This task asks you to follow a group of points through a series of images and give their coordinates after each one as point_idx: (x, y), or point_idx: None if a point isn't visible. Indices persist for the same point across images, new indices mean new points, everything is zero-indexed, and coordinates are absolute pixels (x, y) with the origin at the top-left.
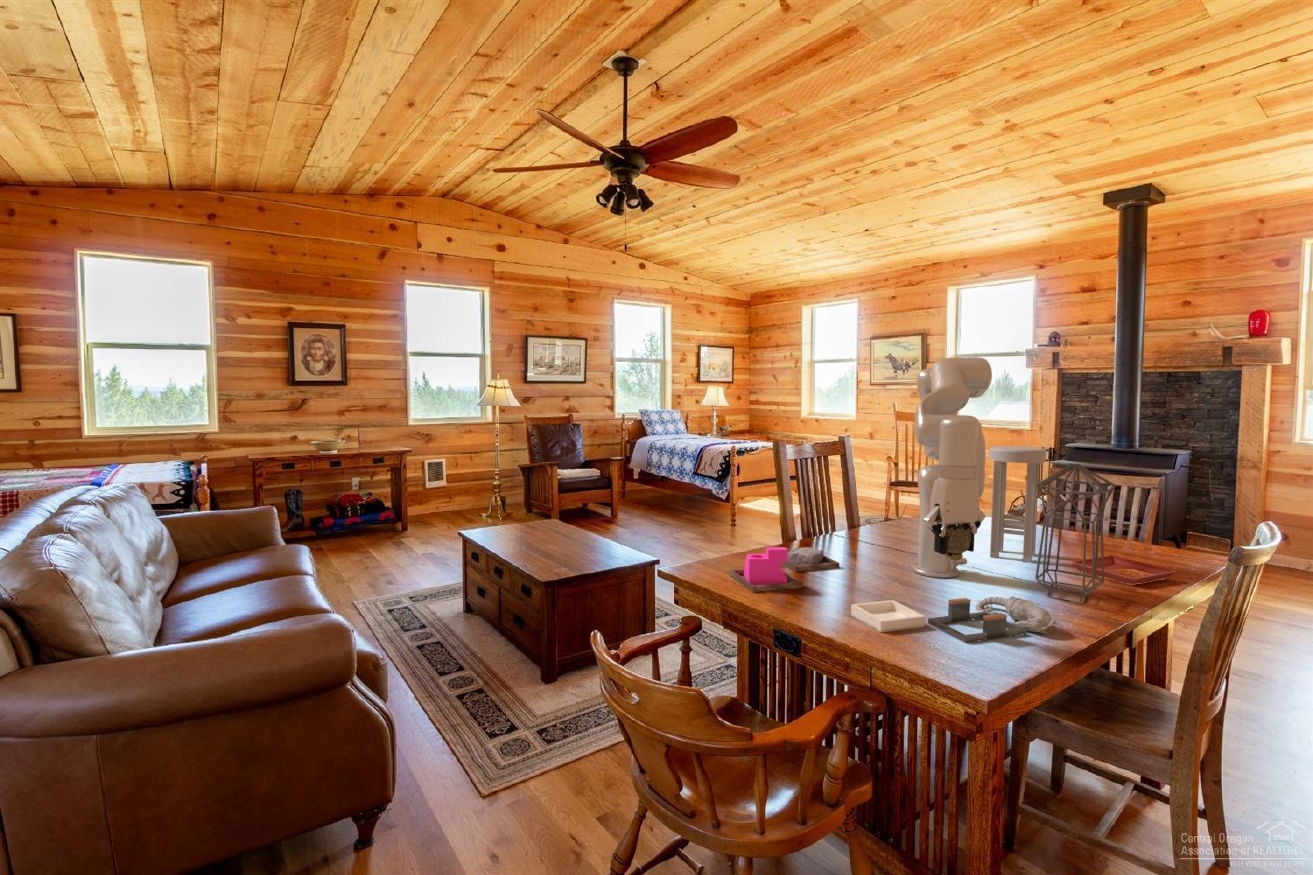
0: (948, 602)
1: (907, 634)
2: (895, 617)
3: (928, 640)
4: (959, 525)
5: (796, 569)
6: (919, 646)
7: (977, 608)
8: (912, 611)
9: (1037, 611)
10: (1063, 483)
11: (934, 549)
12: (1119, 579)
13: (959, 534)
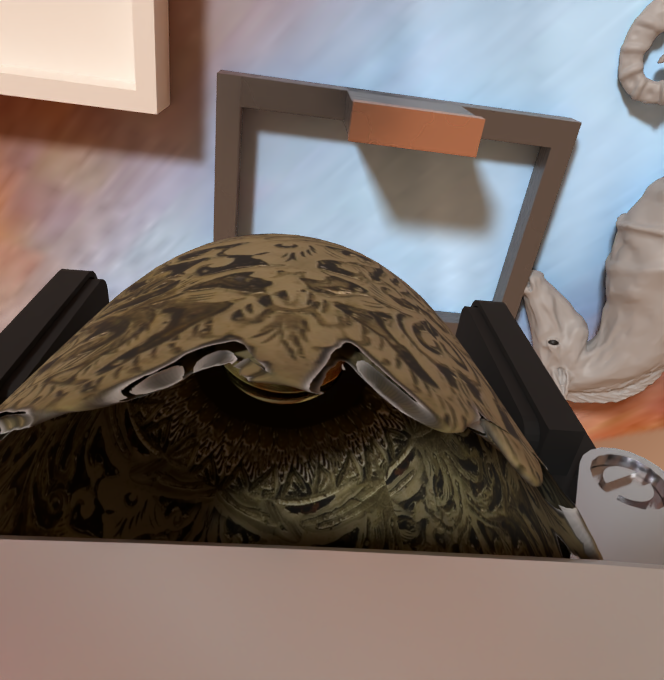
0: (353, 100)
1: (26, 145)
2: None
3: (83, 235)
4: (543, 503)
5: None
6: (7, 267)
7: (641, 24)
8: (135, 13)
9: (628, 355)
10: None
11: (59, 276)
12: None
13: None
